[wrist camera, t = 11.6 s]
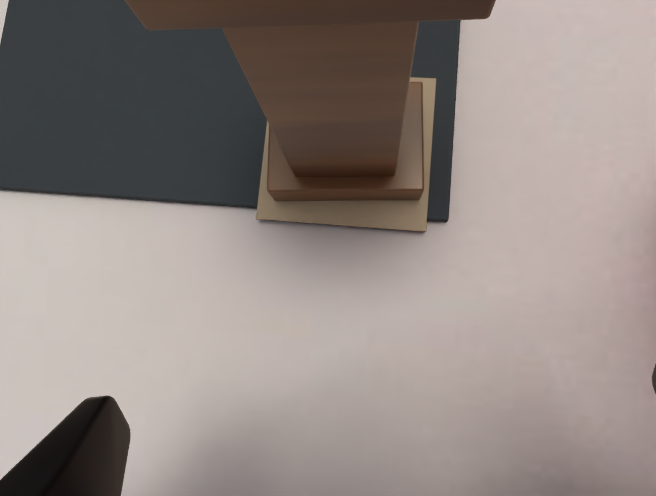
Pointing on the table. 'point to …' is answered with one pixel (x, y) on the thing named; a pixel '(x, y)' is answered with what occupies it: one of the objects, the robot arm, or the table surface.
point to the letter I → (328, 86)
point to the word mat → (178, 116)
